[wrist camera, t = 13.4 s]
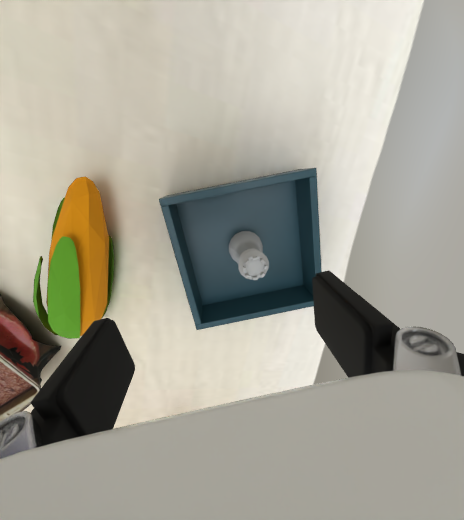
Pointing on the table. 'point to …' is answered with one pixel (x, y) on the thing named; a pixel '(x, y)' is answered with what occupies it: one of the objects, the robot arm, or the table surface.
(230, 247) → the rook chess piece
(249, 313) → the bin
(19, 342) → the rectangular footed planter
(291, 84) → the table surface
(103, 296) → the corn
